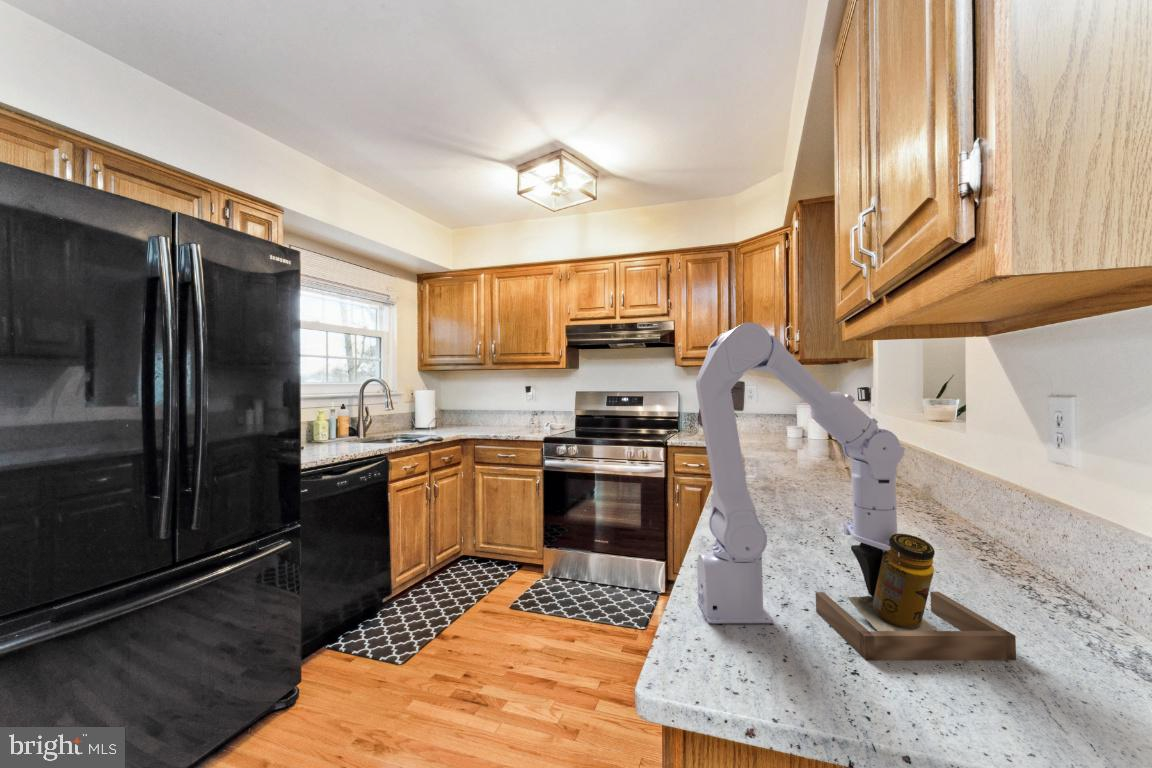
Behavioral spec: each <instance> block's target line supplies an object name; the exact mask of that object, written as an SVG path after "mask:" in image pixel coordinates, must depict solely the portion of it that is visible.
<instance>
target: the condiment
mask: <svg viewBox="0 0 1152 768" xmlns="http://www.w3.org/2000/svg"><path fill="white" fill-rule="evenodd" d="M888 546H890V548H891V550H888V551H885V552H884V553H883V556H882V561H881V566H880V571H879V576H878V580H877V585H876V590H875V595H874V596H871V595H864V596H848V597H847V599H848V601H849V602H850V603H851V605H853V606H854V608H855V609H856V610H857V611H858V612H859V613H860V614H861V615H862V616H863V617H864V618H865V620H866V621H868V622H869V623H870V624H871V625H872V627H873V628H874V629H876V631H938V629H937V628H936V627H934V625H932V624H931V623H930V622H929V621H927V620H926V619H925V618H924V613H925V609H926V605H927V602H928V601H927V600H928V597H929V594H930V593H929V592H930V588H931V584H932V580H933V577H934V573H935V572H934V571H935V567H934V566H933V564H934V556H935V554H936V553H935V552H936V551H935V548H934V547H933V546H932V545H931V544H930V542H928V541H926V540H925V539H922V538H920V537H918V536H916V535H912V534H907V533H899V534H894V535H892V536H891V538H890V539H889V545H888ZM898 552H899V555H900V556H898ZM899 563H900V564H899Z"/></svg>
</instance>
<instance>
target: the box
mask: <svg viewBox="0 0 1152 768" xmlns="http://www.w3.org/2000/svg"><path fill="white" fill-rule="evenodd" d="M929 592H930V593H929V594H930V611H931V612H930V613H933V614H934V615H936V616H938V617H939V618H940V619H941V620H944V621H945V622H947V623H949V624H950V625H951V626H953V627H954V628H956V629H958V630H935V631H877V630H868V629H867V628H866V627H865V626H864V625H863V624H861V623H860V622H859V621H857V620H856V619H855V618H854V617H853V616H852V615H850V613H849V612H847V611H846V610H845V609H844V608H842V607H841V606H840V605H839V604H838V603H837V602H835V600H833V599H832V598H831V597H830V596H829V595H827V593H825V592H823V591H816V592H815V613H816V614H817V615H819V616H820V617H821V618H822V619H823V620H824V621H825V622H826V623H827V624H828V625H829V626H830V627H831V628H832V629H833V630H834V631H835V632H836V633H837V634H838V635H839V636H840V637H841V638H842V639H844V641H845V642H846V643H847V644H848V645H849V646H850V647H852V649H854V651H856V653H857V654H858V655H860V656H861V657H862V659H863V660H865V661H1017V643H1016V640H1017V639H1016V635H1015V634H1013V633H1012V632H1010V631H1008V630H1006V629H1005V628H1003V627H1001V626H999V625H998V624H996V623H994V622H992V621H991V620H988V618H986V617H984V616H982V615H980V614H978V613H977V612H975V611H974V610H971V609H969V608H968V607H967V606H965V605H963V604H961V603H959V602H958V601H956V600H954V599H952V598H950V597H949V596H947V595H945V594H943V593H942V592H941V591H939V590H938V591H937V590H936V591H929Z"/></svg>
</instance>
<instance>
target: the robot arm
mask: <svg viewBox="0 0 1152 768" xmlns="http://www.w3.org/2000/svg"><path fill="white" fill-rule="evenodd" d="M748 371H756V372H763V373H767V374H771V375H772V376H774V377H775V378H776V379H778V380H779V381H780V382H781V383H782V384H783V385H784V386H785V387H787V388H789V390H791V391H792V392H793V393H795V394H796V395H797V396H798V397H799V398H800V399H802V400H803V401H804V402H805V403H806V404H808V405H810V416H811V418H812V420H814V421H815V423H817V424H818V425H819V426H820V427H822V429H823V430H824V431H826V432H827V433H828V434H829V435H830V436H831V437H832V438H834V439H835V440H836V441H837V442H838V443H839V444H840V445H841V447H842V451H843V453H844V455H845V456H846V457H848V458H850V459H851V463H850V465H851V466H850V467H851V493H852V494H851V495H852V496H851V497H852V499H851V500H852V521H844V522H843V534H844V535H846V536H851V537H852V539H853V540H855V541H857V542H859V544H855V545H853V544H852V545H851V546H850V550H851V552H852V553H853V555H854V557H855V558H856V560H857V562H858V564H859V568H860V569H861V572H862V576H863V579H864V583H865V586H866V590H867V592H868V594H869V596H874V595H875V590H876V585H877V580H878V576H879V571H880V566H881V561H882V556H883V553H884V552H885V551H888V550H891V548H890V546H888V545H889V539H890V538H891V536H892V535H894V534H900V532H898V518H897V487H896V485H897V484H896V481H897V480H896V476H897V475H898V473H897V471H898V470H897V467H898V465H899V463H900V462H901V461H902V459H903V457H904V454H905V447H903V446H901V443H900V440H899V438H898V437H897V435H896V434H894V433H893V432H892V431H891V430H888V429H883V428H879V425H878V423H879V422H878V420H877V419H876V418H874V417H873V416H872V417H871V416H868V415H867V414H866V413H865V412H864V411H862V409H861V408H859V406H858V405H856V404H855V403H854V402H855V401H856V398H855V397H854V396H852V395H851V394H849V393H848V394H844V393H843V392H842V391H841V392H840V391H829V390H827V389H826V388H825V386H824V385H823V384H822V383H821V382H820V381H819V380H817V378H815V376H814V375H813V374H812V373H811V372H809V370H808V369H806V367H804V365H803V364H801V363H800V361H798V359H797V358H795V357H794V355H793V354H792V353H790V351H789V350H788V349H787V348H786V347H785V345H784V344H783V343H782V342H781V340H780V339H779V338H778V337H776V336H775V335H773V334H770V333H769V331H768V330H767V329H766V328H765V327H764V326H762V325H761V324H759V323H755V322H744V323H741V324H739V325H737V326H736V327H735V328H732V329H728V330H726V331H724V332H722V333H720V334H719V335H718V336H717V337H716V338H715V339H714V340H713V341H712V342H711V343H710V345H708V347H707V352H706V355H705V358H704V360H703V362H702V364H701V367H700V370H699V371H698V374H697V376H696V379H695V387H696V393H697V400H698V405H699V411H700V417H701V422H702V423H701V424H702V429H703V430H702V431H703V436H704V442H705V449H706V455H707V462H708V466H709V470H710V471H709V473H710V478H711V483H712V491H713V492H712V495H711V498H710V502H711V513H710V516H709V519H708V525H709V526H708V527H709V530H710V533H712V535H713V536H714V538H715V539H716V540H715V541H714V544H713V546H712V551H711V552H706V553H701V554H699V555H698V556H697V565H696V568H697V599H696V601H697V603H698V605H699V606H700V607H699V608H700V609H701V611H702V613H703V615H704V617H705V619H706V621H707V623H709V624H773V623H774V618H773V617H772V616H771V615H770V614H769V612H768V611H767V610H766V608H764V591H763V590H764V588H763V586H764V585H763V557H762V556H763V555H762V554H764V551H765V550H766V548H767V543H768V535H767V531H766V529H765V527H764V526H763V525H762V523H761V522H760V521H759V518H758V516H757V511H756V510H757V509H756V507H755V505H754V503H753V500H752V498H751V496H750V494H749V490H748V486H747V485H748V484H747V479H746V473H745V468H744V461H743V456H742V449H741V441H740V437H739V432H738V431H739V430H738V424H737V419H736V412H735V407H734V401H733V396H732V395H733V394H732V389H733V388H734V386H735V385H736V384H737V383H738V382H739V381H740V380H741V378H742V377H743V376H744V375H745V373H747V372H748ZM898 556H900V555H899V552H898ZM899 564H900V563H899Z"/></svg>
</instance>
